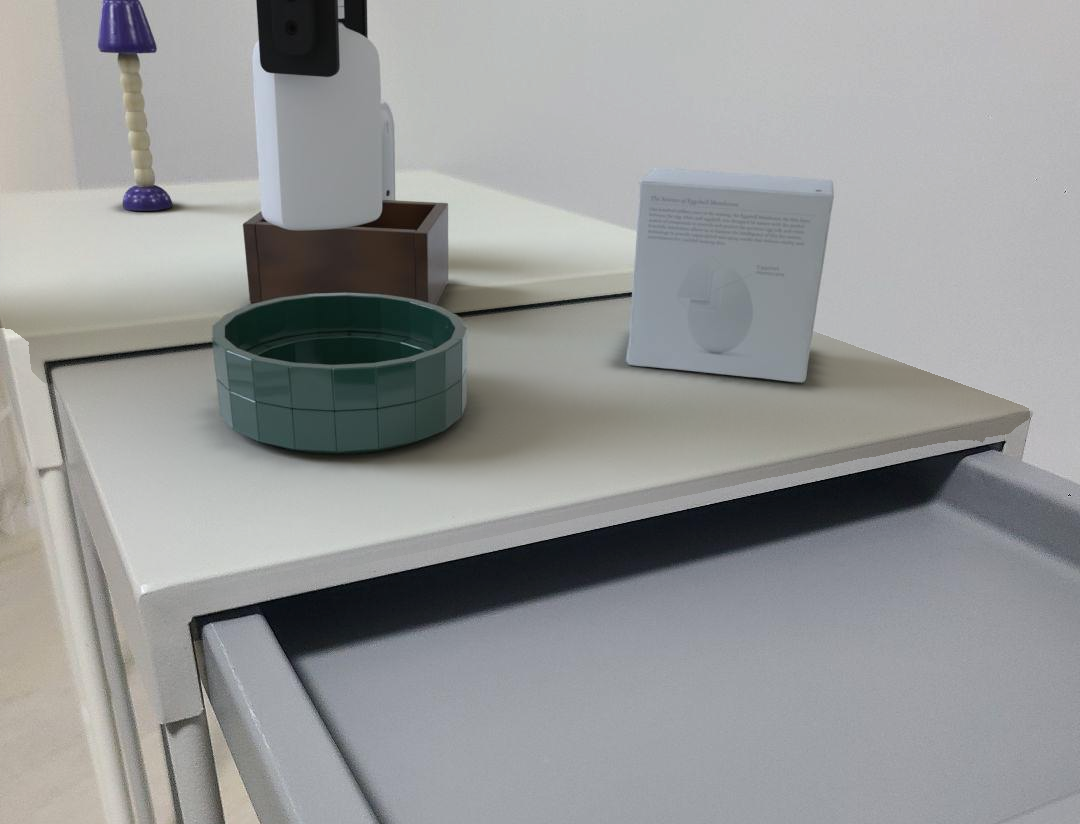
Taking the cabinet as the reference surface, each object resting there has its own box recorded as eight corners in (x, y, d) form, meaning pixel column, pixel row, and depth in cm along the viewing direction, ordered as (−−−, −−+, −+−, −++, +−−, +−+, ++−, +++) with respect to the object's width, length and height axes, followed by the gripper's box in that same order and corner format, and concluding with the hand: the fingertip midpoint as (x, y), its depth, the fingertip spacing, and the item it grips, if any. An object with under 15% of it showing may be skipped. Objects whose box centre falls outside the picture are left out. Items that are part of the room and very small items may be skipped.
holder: (250, 311, 69) (242, 223, 67) (289, 274, 78) (283, 194, 75) (428, 321, 69) (427, 233, 66) (448, 282, 77) (448, 202, 75)
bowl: (186, 453, 49) (173, 360, 47) (262, 366, 60) (254, 287, 58) (448, 468, 49) (447, 375, 47) (477, 378, 60) (478, 299, 58)
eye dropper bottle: (261, 210, 51) (243, -76, 46) (379, 212, 53) (375, -67, 47) (262, 232, 48) (242, -78, 42) (388, 233, 49) (385, -67, 43)
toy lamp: (112, 204, 96) (81, -4, 88) (161, 199, 99) (136, -3, 91) (135, 213, 93) (106, -1, 85) (185, 208, 96) (161, 0, 88)
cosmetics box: (806, 351, 66) (835, 175, 61) (805, 385, 61) (836, 195, 56) (639, 333, 68) (654, 161, 63) (623, 365, 63) (638, 179, 58)
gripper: (261, -416, 46) (285, 48, 55) (91, -597, 31) (161, 81, 40) (435, -406, 46) (431, 58, 54) (349, -583, 31) (362, 95, 40)
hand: (317, 63), depth 47 cm, fingers closed on eye dropper bottle, 5 cm apart
